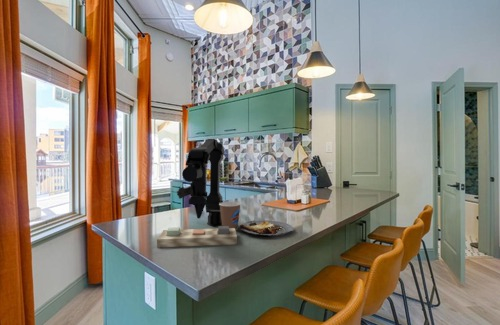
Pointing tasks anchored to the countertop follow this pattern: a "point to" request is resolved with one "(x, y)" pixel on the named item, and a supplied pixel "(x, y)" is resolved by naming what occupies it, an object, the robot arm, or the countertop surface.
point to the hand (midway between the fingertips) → (198, 218)
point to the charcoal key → (223, 229)
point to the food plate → (265, 227)
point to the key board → (197, 238)
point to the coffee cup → (230, 214)
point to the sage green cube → (173, 231)
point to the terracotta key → (199, 232)
